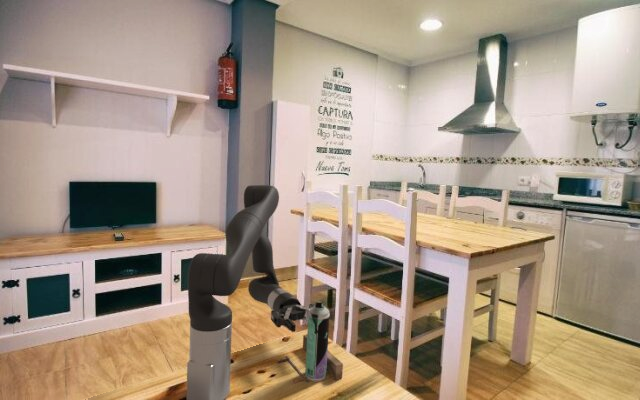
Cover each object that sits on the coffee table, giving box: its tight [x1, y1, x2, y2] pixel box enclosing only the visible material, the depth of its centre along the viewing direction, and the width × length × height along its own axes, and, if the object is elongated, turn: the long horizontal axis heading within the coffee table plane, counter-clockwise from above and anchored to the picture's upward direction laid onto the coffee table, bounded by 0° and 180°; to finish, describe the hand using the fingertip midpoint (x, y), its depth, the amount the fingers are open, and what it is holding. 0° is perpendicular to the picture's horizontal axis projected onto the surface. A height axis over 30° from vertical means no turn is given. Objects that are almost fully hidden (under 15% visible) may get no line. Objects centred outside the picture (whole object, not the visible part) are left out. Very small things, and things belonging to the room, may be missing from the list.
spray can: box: [304, 300, 331, 382], centre depth 91 cm, size 6×6×20 cm
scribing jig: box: [276, 334, 344, 384], centre depth 95 cm, size 18×12×4 cm, turn 31°
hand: (308, 325), depth 95 cm, fingers open, 8 cm apart
